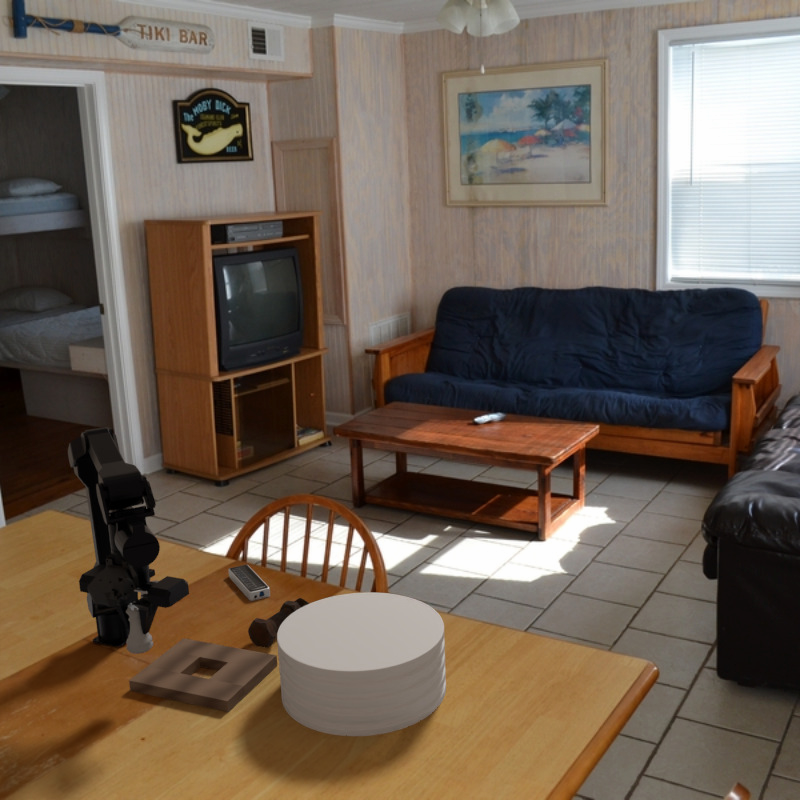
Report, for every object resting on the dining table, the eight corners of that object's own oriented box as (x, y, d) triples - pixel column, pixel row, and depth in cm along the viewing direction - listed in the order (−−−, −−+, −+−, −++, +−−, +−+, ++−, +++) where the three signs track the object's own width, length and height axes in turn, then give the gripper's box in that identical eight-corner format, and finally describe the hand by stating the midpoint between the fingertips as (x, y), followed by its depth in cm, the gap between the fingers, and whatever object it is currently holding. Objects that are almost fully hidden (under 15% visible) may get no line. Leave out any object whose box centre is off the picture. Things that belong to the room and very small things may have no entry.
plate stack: (465, 660, 176) (463, 601, 173) (416, 749, 150) (413, 682, 148) (321, 641, 185) (317, 585, 182) (252, 722, 159) (247, 658, 157)
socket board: (130, 690, 170) (129, 680, 170) (184, 647, 184) (183, 638, 184) (228, 712, 162) (227, 701, 162) (277, 665, 176) (276, 655, 176)
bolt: (308, 622, 196) (263, 654, 184) (289, 607, 198) (244, 637, 185) (319, 601, 194) (275, 632, 181) (300, 586, 195) (254, 615, 183)
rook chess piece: (129, 642, 168) (124, 599, 166) (155, 640, 169) (151, 598, 167) (124, 655, 164) (118, 611, 162) (151, 653, 164) (146, 609, 162)
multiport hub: (248, 573, 217) (247, 563, 217) (270, 597, 205) (270, 587, 204) (228, 578, 215) (227, 568, 215) (250, 603, 203) (249, 592, 202)
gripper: (49, 556, 158) (61, 644, 162) (142, 573, 151) (152, 664, 155) (97, 531, 168) (107, 615, 172) (186, 546, 161) (195, 632, 164)
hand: (138, 631), depth 166 cm, fingers closed on rook chess piece, 3 cm apart
